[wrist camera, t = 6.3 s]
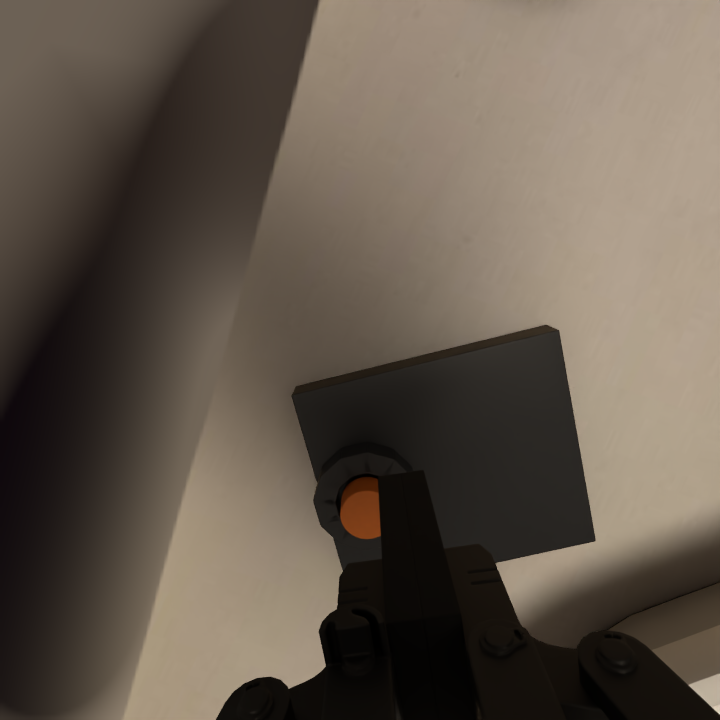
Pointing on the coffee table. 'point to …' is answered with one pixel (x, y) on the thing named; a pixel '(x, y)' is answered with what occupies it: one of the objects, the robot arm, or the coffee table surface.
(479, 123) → the coffee table surface
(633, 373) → the coffee table surface
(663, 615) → the bowl
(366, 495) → the button
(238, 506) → the coffee table surface
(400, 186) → the coffee table surface
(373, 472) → the scale
